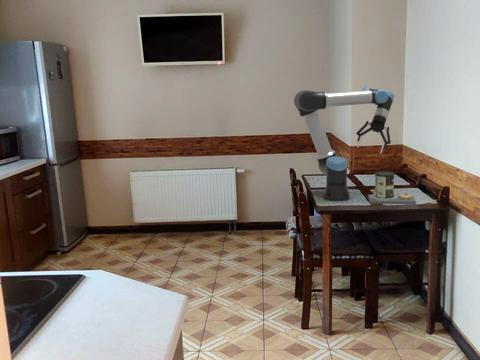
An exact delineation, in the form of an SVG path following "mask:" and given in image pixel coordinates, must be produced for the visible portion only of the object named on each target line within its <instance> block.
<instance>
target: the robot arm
mask: <svg viewBox="0 0 480 360" xmlns="http://www.w3.org/2000/svg"><path fill="white" fill-rule="evenodd" d="M394 98H395V94H394V93H393V91H388V90H385V89H382V88H381V89H377V88H376V89H375V88H371V87H368V86H365V87H363V88H362V89H361V90H356V91H355V90H354V91H341V92H328V93H327V92H326V91H314V90H313V91H312V90H306V89H304V90H303V89H302V90H300V91H298V92H297V93H296V94H295V95H294V98H293V99H294V100H293V104H294V106H295V108H297V110H298V114H299V115H300V117H301V118H303V119H304V121H305V125H306V126H307V129H308V130H307V131H309V134H310V135H309V136H310V137H311V140H312V143H313V144H314V148H315V150H316V153H317V155H316V159H317V160H316V161H317V165H318V169H319V171H320V172H321V173H322V175H325V176H326V180H325V181H326V183H325V188H324V192H323V195H322V197H323V199H324V200H327V201H332V202H333V201H334V202H343V201H348V200H350V198H351V197H350V196H351V193H350V190H349V188H348V161H347V159H346V158H345V157H342V156H337V153H336V151H335V150H333V149H332V147H331V144H330V141H329V139H328V136H327V134H326V131H325V128H324V126H323V123H322V121H321V118H320V117H321V116H320V115H319V111H321V110H326V109H327V108H331V107H332V108H333V107H343V106H344V107H345V106H356V105H367V104H371V105H372V104H374V105H376V109H375V111H374V115H373V118H372V121H371V122H369V121H368V120H366V122H365V124H364V125H362V127H361V128H360V129H359V130H357V132H355V133H356V134H355V135H357V139H356V142H358V143H357V147H356V148H359V147H360V144H361V142H362V138H363V136H365V135H366V134H367V133H369V132H371V131H372V132H375V133H377V134H378V133H379V134H380V136H381V138H382V140H383V143H382V145H381V148H380V152H379V154H380V155H382V152H383V150H385V149H386V147H387V145H390V144H391V137H390V126H387V127H386V126H385V125H386V123H387V119H388V116H389V114H390V110H391V107H392V105H393V102H394ZM368 126H370V127H369V128H367V129H366V127H368ZM365 129H366V130H365ZM383 130H385V132H386V136H385V134H384V131H383Z"/></svg>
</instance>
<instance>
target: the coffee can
mask: <svg viewBox="0 0 480 360" xmlns="http://www.w3.org/2000/svg"><path fill="white" fill-rule="evenodd" d="M394 185H395V173H394V172H393V171H388V170H386V171H385V170H381V171H376V172H374V194H375V198H379V199H392V198H394V197H393V196H394V195H395V194H394V192H395V191H394V189H395V187H394Z"/></svg>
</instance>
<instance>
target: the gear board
mask: <svg viewBox="0 0 480 360" xmlns="http://www.w3.org/2000/svg"><path fill="white" fill-rule="evenodd" d="M393 197H394V198H392V199H379V198H375V193H372V194H368V195H367V198H368V201H369V204H370V205H371V204H373V205H375V204H377V205H378V204H380V205H383V204H384V205H387V204H388V205H416V204H417V201H416V199H415V198H414V195H413V194H410V193H409V194H408V193H407V192H404V193H400V194H394V196H393Z"/></svg>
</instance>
